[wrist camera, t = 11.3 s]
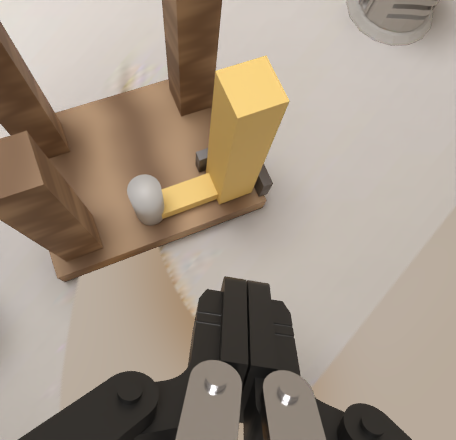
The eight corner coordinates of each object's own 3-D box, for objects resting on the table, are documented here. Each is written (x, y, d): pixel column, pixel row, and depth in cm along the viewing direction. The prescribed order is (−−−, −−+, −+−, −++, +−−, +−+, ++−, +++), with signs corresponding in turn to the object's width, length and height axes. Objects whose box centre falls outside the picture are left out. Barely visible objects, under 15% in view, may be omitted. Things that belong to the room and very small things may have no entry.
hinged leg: (143, 233, 33) (111, 160, 20) (130, 200, 34) (91, 108, 20) (251, 192, 35) (289, 101, 22) (237, 162, 36) (266, 55, 22)
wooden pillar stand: (65, 281, 34) (-40, 233, 18) (19, 137, 37) (-102, -7, 21) (265, 206, 37) (318, 112, 22) (208, 80, 40) (218, -80, 25)
